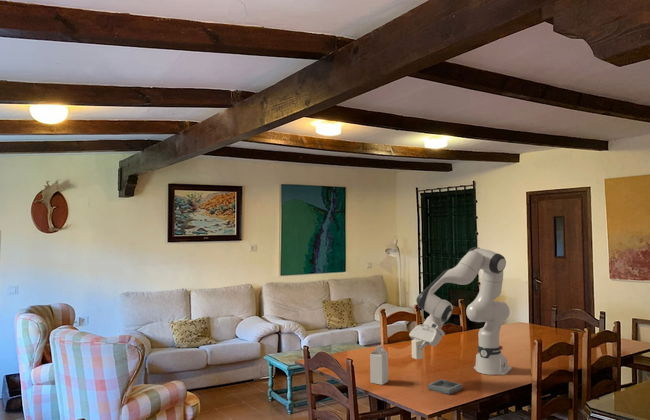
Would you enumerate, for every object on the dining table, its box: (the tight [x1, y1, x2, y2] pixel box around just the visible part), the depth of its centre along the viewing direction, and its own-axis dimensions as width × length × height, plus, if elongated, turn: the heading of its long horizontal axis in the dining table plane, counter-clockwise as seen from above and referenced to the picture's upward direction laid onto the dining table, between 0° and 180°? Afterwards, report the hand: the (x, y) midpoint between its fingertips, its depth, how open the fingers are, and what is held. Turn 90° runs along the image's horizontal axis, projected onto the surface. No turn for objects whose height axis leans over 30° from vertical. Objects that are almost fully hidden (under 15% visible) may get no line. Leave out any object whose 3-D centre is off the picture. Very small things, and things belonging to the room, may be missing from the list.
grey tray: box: [427, 378, 463, 396], centre depth 246 cm, size 12×12×2 cm
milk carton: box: [369, 344, 389, 386], centre depth 259 cm, size 7×7×19 cm
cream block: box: [411, 339, 424, 360], centre depth 253 cm, size 4×4×9 cm
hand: (416, 348), depth 252 cm, fingers closed on cream block, 4 cm apart
